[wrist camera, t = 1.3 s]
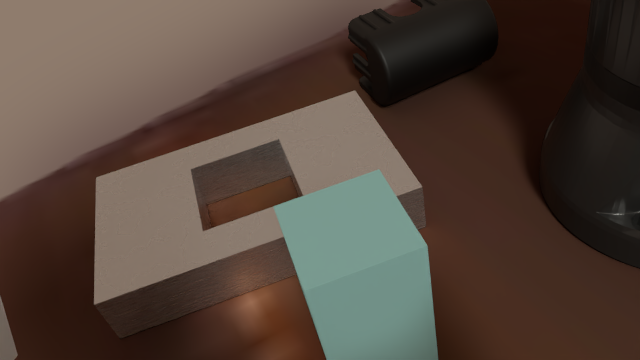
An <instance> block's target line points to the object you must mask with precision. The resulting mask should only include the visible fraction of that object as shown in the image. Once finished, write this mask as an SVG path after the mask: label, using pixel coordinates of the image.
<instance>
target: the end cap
mask: <svg viewBox="0 0 640 360" xmlns="http://www.w3.org/2000/svg"><path fill="white" fill-rule="evenodd" d="M411 2H413V3H415V4H416V5H418V6H420V7H421V8H422V9H421V10H420V11H418V12H417V13H415V14H412V15H409V16H402V17H397V16H392V15H389V14H388V13H386V12H385V11H383V10H382V9H377V10H376V9H375V10H373V11H372V12H370V13H367V14H365V15H360V16H359V17H357V18H355V19H353V20H351V22H350V23H349V26H348V29H349V36H348V38H349V39H350V41H351V42H352V43H354V44H355V45H356V46H357V47H359V48H360V49H361V50H362V51H363V52H364V53H365V54H366V56H367V59H368V62H367V61H366V60H365V59H364V58H363V57H361V56H360V55H359V54H358V53H356V54H353V63H354V64H355V68H356V69H357V70H358V71H359V72H360V73H361V74H363V75H364V76H363V77H361V78H360V80H359V81H360V86H361V87H362V88H363V89H364V90H365V91H366V92H367V93H368V94H369V95H370V96H371V97H373V98H374V99H375V100H376V101H377V102H378V103H379V104H380V105H382V106H387V105H390V104H392V103H394V102H397V101H399V100H401V99H403V98H406V97H408V96H410V95H413V94H415V93H417V92H419V91H422V90H424V89H426V88H428V87H431V86H433V85H435V84H438V83H440V82H442V81H444V80H447V79H449V78H451V77H453V76H456V75H458V74H460V73H463V72H465V71H467V70H469V69H472V68H474V67H476V66H478V65H481V64H482V63H483V62H485V61H487V60H489V59H490V58H491V57H492V56H493V55H494V53H495V51H496V49H497V45H498V27H497V22H496V19H495V16H494V14H493V11H492V9H491V7H490V6H489V4H488V2H487V1H486V0H411Z"/></svg>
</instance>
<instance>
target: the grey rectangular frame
mask: <svg viewBox="0 0 640 360" xmlns="http://www.w3.org/2000/svg"><path fill="white" fill-rule="evenodd" d="M378 169H379V170H380V171H381V173H382V174H383V176H384V178H385V179H386V181H387V182H388V184H389V186H390V187H391V189H392V190H393V192H394V193H395V195H396V197H397V198H398V200H399V201H400V203H401V205H402V206H403V208H404V209H405V211H406V213H407V214H408V216H409V217H410V219H411V221H412V222H413V224H414V225H415V227H416V229H417V230H418V229H421V228H424V227H426V220H425V210H424V199H423V189H422V186H421V184H420V183H419V181H418V180H417V179H416V177H415V176H414V174H413V173H412V171H411V170H410V169H409V167H408V166H407V164H406V163H405V161H404V160H403V159H402V157H401V156H400V154H399V153H398V151H397V150H396V148H395V147H394V146H393V144H392V143H391V141H390V140H389V138H388V137H387V136H386V134H385V133H384V131H383V130H382V128H381V127H380V126H379V124H378V123H377V121H376V120H375V118H374V117H373V116H372V114H371V113H370V111H369V110H368V108H367V107H366V105H365V104H364V103H363V101H362V100H361V98H360V97H359V95H358V94H357V93H356V91H352V92H349V93H346V94H343V95H340V96H337V97H334V98H331V99H328V100H325V101H322V102H319V103H316V104H313V105H310V106H307V107H305V108H302V109H299V110H296V111H293V112H290V113H287V114H284V115H281V116H278V117H275V118H272V119H269V120H266V121H263V122H260V123H257V124H254V125H251V126H248V127H245V128H242V129H239V130H236V131H233V132H230V133H227V134H224V135H221V136H218V137H215V138H212V139H209V140H206V141H203V142H200V143H197V144H194V145H192V146H189V147H186V148H183V149H180V150H177V151H174V152H171V153H168V154H165V155H162V156H159V157H156V158H153V159H150V160H147V161H144V162H141V163H138V164H135V165H132V166H129V167H126V168H123V169H120V170H117V171H114V172H111V173H108V174H105V175H102V176H99V177H96V211H95V271H94V305H95V307H96V308H97V309H98V311H99V312H100V313H101V315H102V316H103V317H104V318H105V320H106V321H107V322H108V324H109V325H110V326H111V328H112V329H113V330H114V331H115V333H116V334H117V335H118V337H119V338H120V339H121V338H124V337H126V336H129V335H132V334H135V333H137V332H140V331H143V330H146V329H148V328H151V327H154V326H156V325H159V324H162V323H165V322H167V321H170V320H173V319H176V318H178V317H181V316H184V315H186V314H189V313H192V312H195V311H197V310H200V309H203V308H206V307H208V306H211V305H214V304H216V303H219V302H222V301H225V300H227V299H230V298H233V297H236V296H238V295H241V294H244V293H246V292H249V291H252V290H255V289H257V288H260V287H263V286H266V285H268V284H271V283H274V282H276V281H279V280H282V279H285V278H287V277H290V276H293V275H296V274H297V273H296V271H295V268H294V265H293V262H292V259H291V256H290V253H289V250H288V247H287V245H286V242H285V239H284V236H283V233H282V230H281V227H280V224H279V221H278V219H277V216H276V213H275V210H274V207H271V208H268V209H265V210H262V211H259V212H257V213H254V214H251V215H248V216H245V217H242V218H239V219H237V220H234V221H231V222H228V223H225V224H222V225H220V226H217V227H214V228H212V227H211V222H210V218H209V213H208V208H207V204H210V203H212V202H215V201H218V200H221V199H224V198H227V197H230V196H233V195H235V194H238V193H241V192H244V191H247V190H250V189H253V188H256V187H258V186H261V185H264V184H267V183H270V182H273V181H276V180H279V179H281V178H284V177H287V176H290V177H291V179H292V182H293V184H294V186H295V189H296V191H297V193H298V196H299V197H302V196H304V195H307V194H310V193H313V192H316V191H319V190H321V189H324V188H327V187H330V186H333V185H336V184H339V183H341V182H344V181H347V180H350V179H353V178H356V177H358V176H361V175H364V174H367V173H370V172H373V171H375V170H378Z"/></svg>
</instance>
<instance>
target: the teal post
mask: <svg viewBox="0 0 640 360" xmlns="http://www.w3.org/2000/svg"><path fill="white" fill-rule="evenodd" d="M273 207H274V210H275V213H276V216H277V219H278V221H279V224H280V227H281V230H282V233H283V236H284V239H285V242H286V245H287V247H288V250H289V253H290V256H291V259H292V262H293V265H294V268H295V271H296V273H297V276H298V279H299V282H300V285H301V288H302V291H303V294H304V297H305V299H306V302H307V305H308V308H309V311H310V314H311V317H312V320H313V323H314V325H315V328H316V331H317V334H318V337H319V340H320V343H321V346H322V349H323V351H324V354H325V357H326V360H438V351H437V341H436V331H435V320H434V310H433V300H432V289H431V279H430V268H429V258H428V248H427V244H426V243H425V241H424V240H423V238H422V236H421V235H420V233H419V232H418V230H417V229H416V227H415V225H414V224H413V222H412V221H411V219H410V217H409V216H408V214H407V213H406V211H405V209H404V208H403V206H402V205H401V203H400V201H399V200H398V198H397V197H396V195H395V193H394V192H393V190H392V189H391V187H390V186H389V184H388V182H387V181H386V179H385V178H384V176H383V174H382V173H381V171H380V170H379V169H378V170H375V171H373V172H370V173H367V174H364V175H361V176H358V177H356V178H353V179H350V180H347V181H344V182H341V183H339V184H336V185H333V186H330V187H327V188H324V189H321V190H319V191H316V192H313V193H310V194H307V195H304V196H302V197H299V198H296V199H293V200H290V201H287V202H285V203H282V204H279V205H276V206H273Z"/></svg>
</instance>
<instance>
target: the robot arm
mask: <svg viewBox="0 0 640 360" xmlns="http://www.w3.org/2000/svg"><path fill="white" fill-rule="evenodd" d="M539 180H540V186H541V190H542V193H543V196H544V198H545V201H546V202H547V204H548V206H549V208H550V209H551V211H552V212H553V213H554V215H555V216H556V217H557V218H558V220H559V221H560V222H561V223H562V224H563V225H564V226H565V227H566V228H567V229H568V230H570V231H571V232H572V233H573V234H574V235H576V236H577V237H578V238H579V239H581V240H582V241H584V242H585V243H587V244H588V245H590V246H591V247H593V248H595V249H596V250H598V251H600V252H602V253H604V254H606V255H608V256H610V257H612V258H614V259H617V260H619V261H621V262H624V263H626V264H629V265H632V266H635V267H638V268H640V0H591V6H590V14H589V22H588V29H587V39H586V46H585V53H584V59H583V65H582V68H581V69H580V71H579V73H578V75H577V77H576V79H575V81H574V82H573V84H572V86H571V88H570V90H569V92H568V93H567V95H566V97H565V99H564V101H563V103H562V105H561V107H560V109H559V111H558V113H557V115H556V117H555V118H554V120H553V121H552V123H551V124H550V126H549V127H548V129H547V131H546V134H545V136H544V140H543V143H542V149H541V159H540V169H539ZM17 356H18V355H17V351H16V348H15V344H14V341H13V337H12V334H11V331H10V327H9V324H8V320H7V317H6V313H5V310H4V307H3V303H2V300H1V296H0V360H14V359H15V358H16V357H17Z"/></svg>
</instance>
